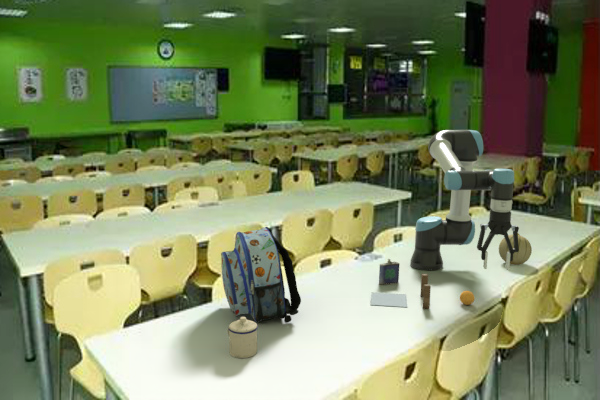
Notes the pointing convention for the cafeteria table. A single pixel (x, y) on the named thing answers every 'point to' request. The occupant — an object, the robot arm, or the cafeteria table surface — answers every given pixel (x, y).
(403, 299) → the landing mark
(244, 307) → the backpack
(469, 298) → the ball
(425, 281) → the post
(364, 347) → the cafeteria table surface
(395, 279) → the flask
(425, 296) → the post
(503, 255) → the cantaloupe
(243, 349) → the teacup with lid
